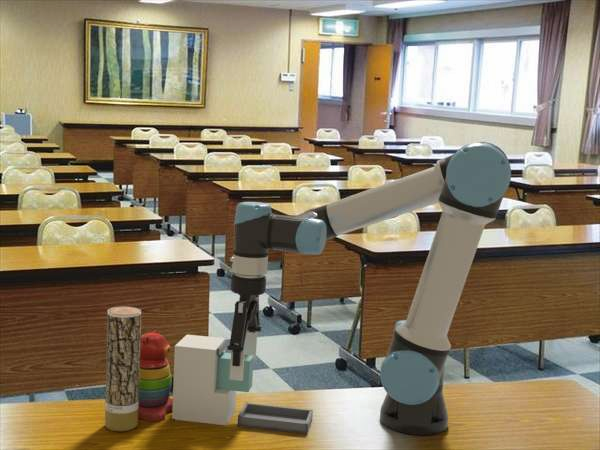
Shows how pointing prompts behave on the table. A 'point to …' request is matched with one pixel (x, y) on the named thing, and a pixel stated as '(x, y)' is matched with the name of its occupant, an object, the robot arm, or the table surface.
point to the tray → (275, 418)
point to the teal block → (224, 374)
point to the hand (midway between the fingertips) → (243, 369)
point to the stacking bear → (154, 378)
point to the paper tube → (122, 368)
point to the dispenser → (200, 382)
